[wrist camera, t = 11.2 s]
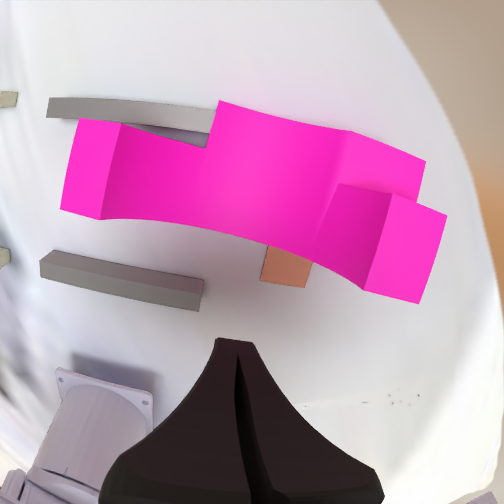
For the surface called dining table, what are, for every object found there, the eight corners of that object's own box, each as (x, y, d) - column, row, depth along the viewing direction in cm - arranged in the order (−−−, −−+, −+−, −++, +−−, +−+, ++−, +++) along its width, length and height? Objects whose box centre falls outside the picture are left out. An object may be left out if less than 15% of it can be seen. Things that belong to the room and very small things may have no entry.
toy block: (390, 166, 18) (460, 157, 10) (363, 262, 19) (418, 304, 11) (153, 102, 17) (98, 61, 10) (128, 200, 18) (60, 209, 11)
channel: (296, 310, 21) (302, 327, 19) (54, 265, 19) (40, 277, 17) (342, 143, 18) (354, 144, 16) (65, 99, 15) (49, 97, 14)
